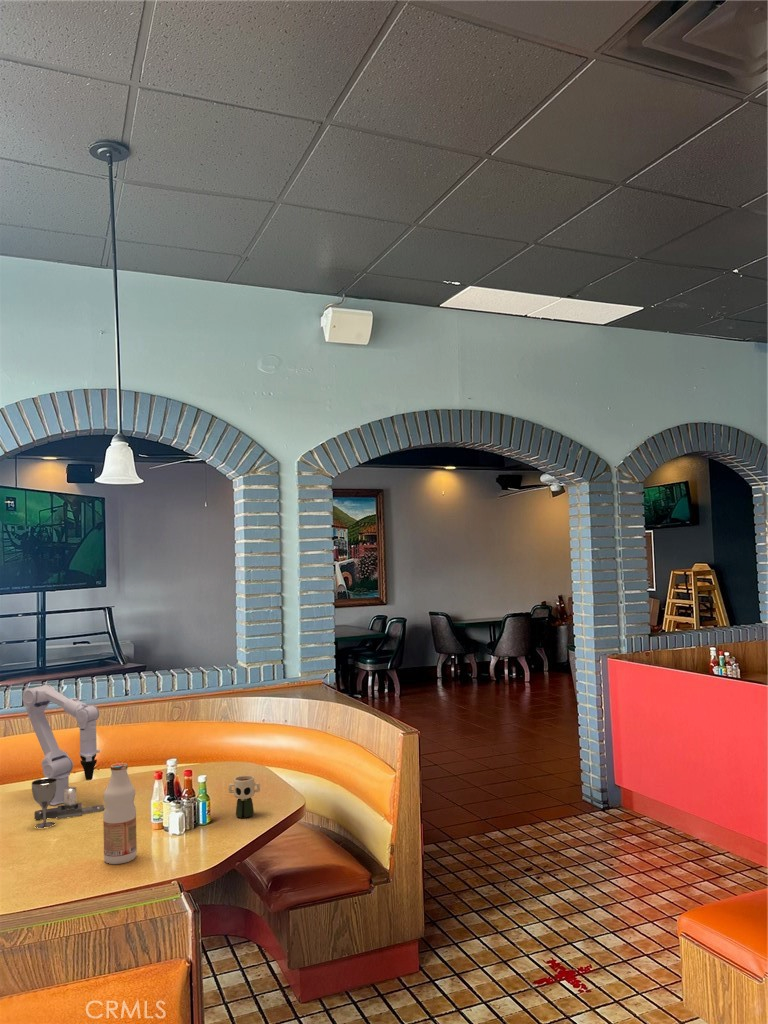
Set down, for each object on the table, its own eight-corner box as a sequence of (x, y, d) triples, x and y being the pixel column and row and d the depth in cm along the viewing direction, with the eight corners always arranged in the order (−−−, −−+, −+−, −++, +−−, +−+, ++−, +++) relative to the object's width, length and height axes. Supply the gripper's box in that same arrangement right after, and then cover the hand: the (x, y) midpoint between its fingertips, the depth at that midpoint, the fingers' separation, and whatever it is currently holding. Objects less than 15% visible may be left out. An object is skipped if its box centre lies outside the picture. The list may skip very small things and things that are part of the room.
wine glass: (62, 823, 267) (62, 779, 268) (43, 830, 260) (43, 785, 261) (45, 820, 271) (45, 776, 271) (26, 828, 263) (26, 783, 264)
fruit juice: (107, 867, 227) (106, 770, 229) (100, 857, 235) (99, 763, 237) (140, 860, 232) (139, 765, 234) (132, 850, 240) (131, 758, 242)
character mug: (227, 820, 265) (226, 781, 266) (231, 813, 272) (230, 775, 273) (258, 819, 265) (258, 780, 266) (262, 812, 272) (261, 774, 273)
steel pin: (62, 814, 276) (62, 789, 277) (72, 811, 279) (72, 786, 280) (68, 816, 274) (68, 790, 274) (78, 813, 277) (78, 787, 277)
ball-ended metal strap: (33, 822, 268) (33, 815, 269) (34, 815, 276) (34, 809, 276) (104, 812, 277) (104, 805, 277) (103, 806, 285) (103, 799, 285)
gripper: (100, 742, 282) (101, 780, 281) (99, 734, 295) (99, 770, 294) (79, 744, 279) (80, 783, 278) (79, 736, 293) (79, 773, 292)
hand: (88, 776), depth 286 cm, fingers open, 7 cm apart
